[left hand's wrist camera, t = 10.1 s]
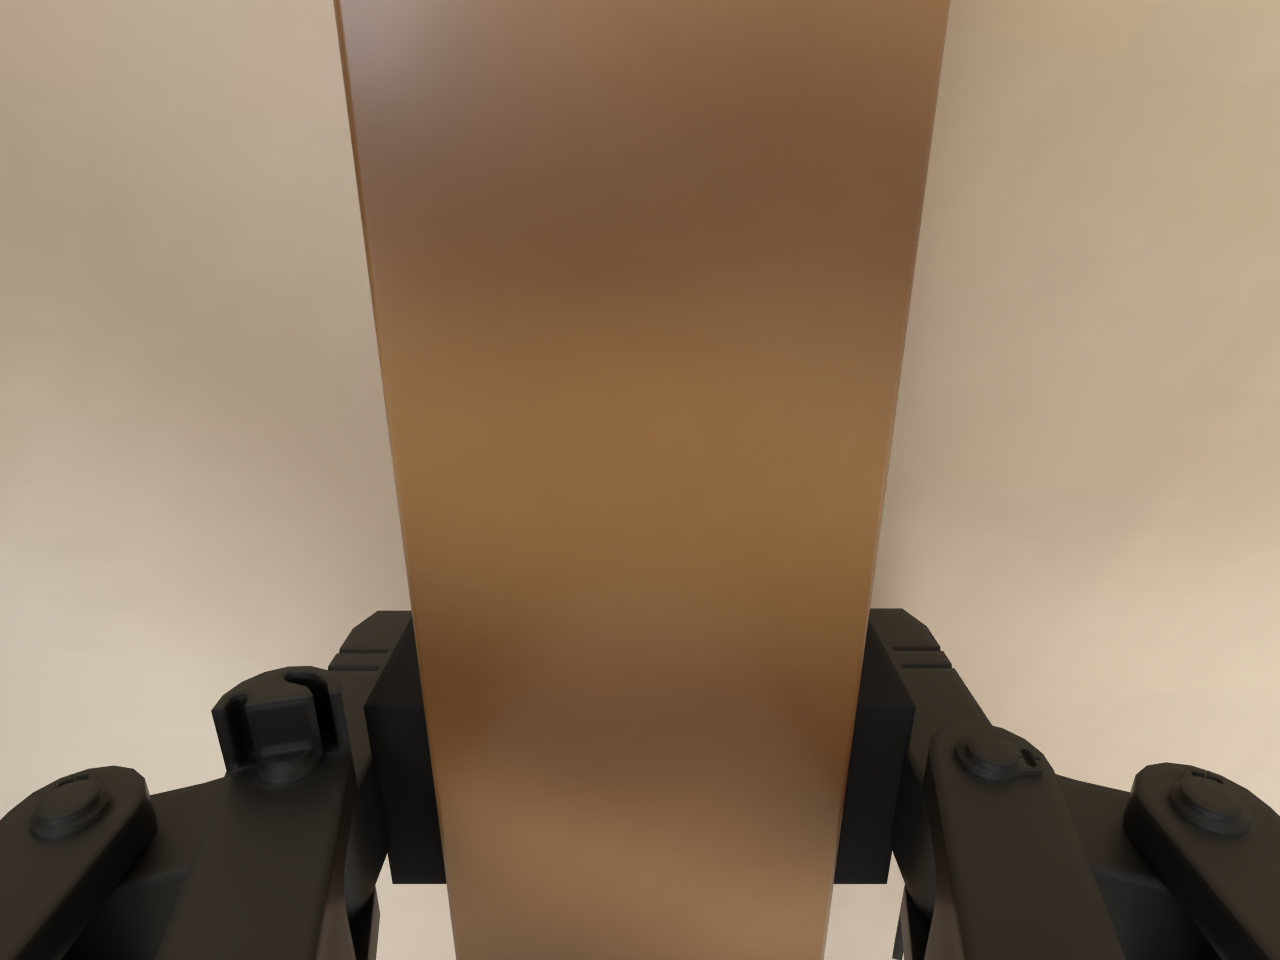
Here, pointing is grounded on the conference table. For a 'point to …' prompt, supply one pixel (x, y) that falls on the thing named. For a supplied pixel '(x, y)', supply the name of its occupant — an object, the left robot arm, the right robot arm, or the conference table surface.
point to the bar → (640, 439)
